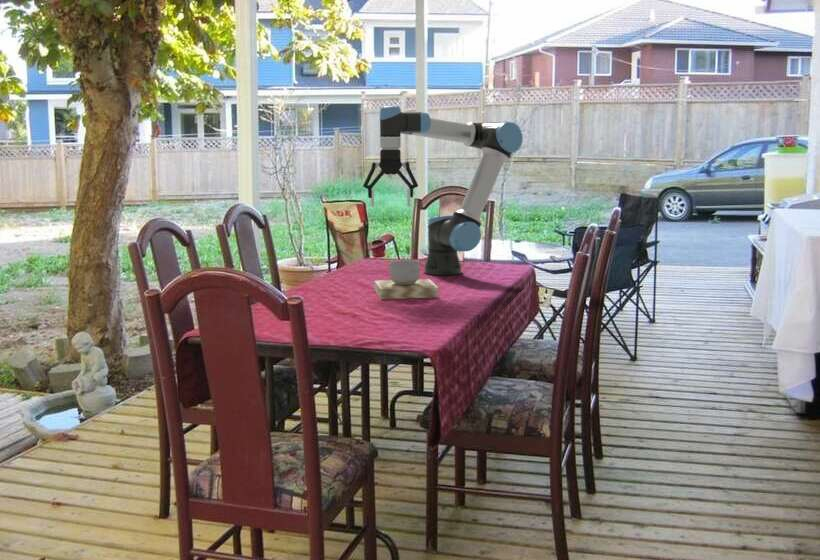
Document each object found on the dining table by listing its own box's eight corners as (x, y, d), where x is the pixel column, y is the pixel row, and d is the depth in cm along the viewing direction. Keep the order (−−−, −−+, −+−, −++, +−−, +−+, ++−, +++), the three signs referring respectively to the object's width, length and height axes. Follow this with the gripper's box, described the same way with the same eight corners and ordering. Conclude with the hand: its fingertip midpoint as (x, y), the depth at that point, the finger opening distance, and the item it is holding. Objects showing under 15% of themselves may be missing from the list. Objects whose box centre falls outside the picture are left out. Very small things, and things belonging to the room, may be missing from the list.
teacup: (416, 287, 301) (416, 263, 300) (385, 286, 303) (385, 263, 302) (424, 280, 315) (424, 258, 314) (394, 279, 317) (394, 257, 316)
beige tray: (429, 288, 320) (429, 278, 319) (438, 297, 302) (438, 286, 302) (374, 290, 317) (374, 280, 316) (380, 299, 299) (380, 288, 299)
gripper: (422, 148, 330) (422, 205, 334) (355, 149, 327) (356, 206, 330) (425, 149, 323) (425, 207, 326) (357, 149, 319) (358, 208, 323)
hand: (390, 206), depth 328 cm, fingers open, 13 cm apart
